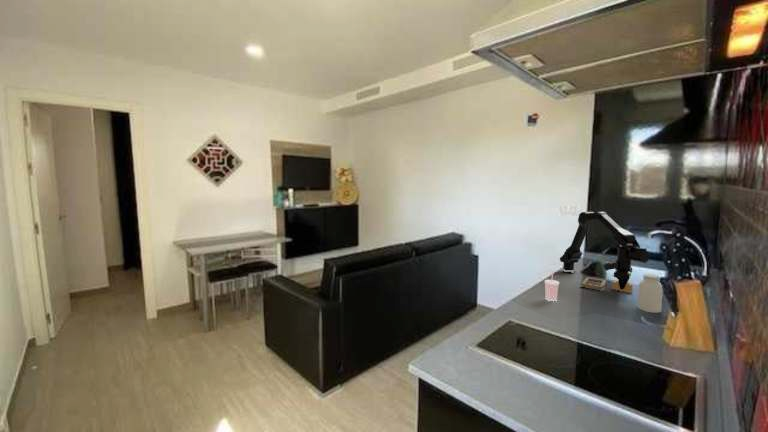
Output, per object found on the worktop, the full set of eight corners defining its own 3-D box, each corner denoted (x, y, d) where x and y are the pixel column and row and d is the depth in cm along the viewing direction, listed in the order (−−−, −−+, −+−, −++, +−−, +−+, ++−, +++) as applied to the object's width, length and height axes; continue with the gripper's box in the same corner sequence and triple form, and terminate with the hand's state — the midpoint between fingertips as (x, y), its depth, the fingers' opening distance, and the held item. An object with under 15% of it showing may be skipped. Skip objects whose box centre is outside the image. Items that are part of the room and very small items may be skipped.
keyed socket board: (585, 280, 183) (585, 276, 182) (607, 284, 176) (607, 280, 176) (580, 287, 171) (580, 283, 171) (602, 291, 164) (603, 287, 164)
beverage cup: (540, 299, 154) (542, 269, 152) (550, 297, 156) (551, 268, 155) (551, 303, 148) (553, 273, 147) (561, 301, 151) (563, 271, 149)
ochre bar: (612, 289, 167) (612, 282, 167) (613, 287, 170) (613, 280, 170) (631, 293, 162) (632, 285, 162) (632, 291, 165) (632, 283, 165)
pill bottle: (639, 305, 146) (642, 272, 145) (663, 310, 140) (666, 276, 139) (634, 309, 141) (637, 275, 140) (658, 315, 135) (661, 279, 134)
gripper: (607, 252, 177) (605, 281, 179) (602, 258, 163) (600, 289, 164) (633, 255, 170) (631, 285, 171) (630, 262, 156) (627, 294, 157)
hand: (622, 288), depth 166 cm, fingers closed on ochre bar, 4 cm apart
